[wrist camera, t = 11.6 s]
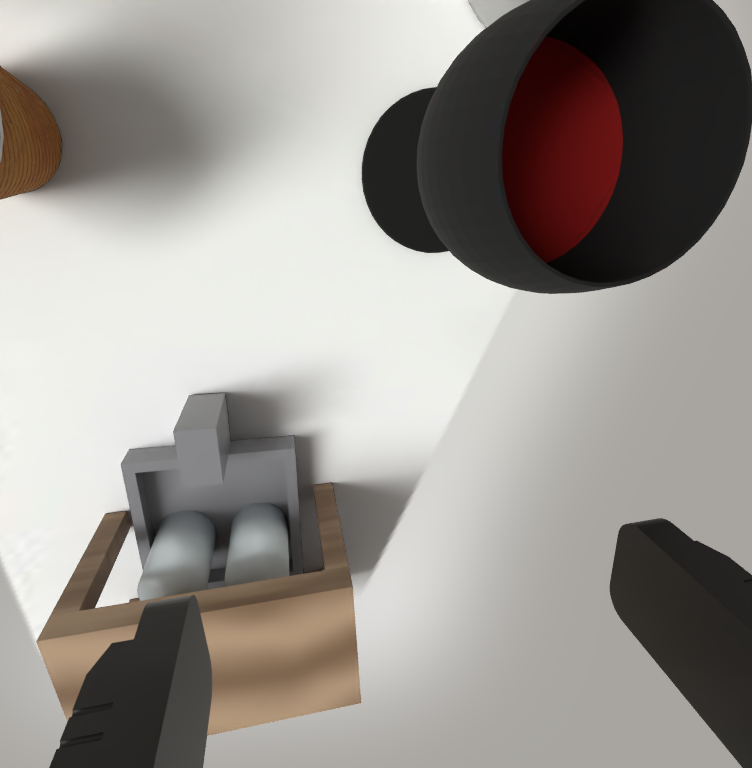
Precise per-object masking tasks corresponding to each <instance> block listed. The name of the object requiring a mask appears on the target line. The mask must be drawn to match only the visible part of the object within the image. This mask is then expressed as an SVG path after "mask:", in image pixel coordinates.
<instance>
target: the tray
mask: <svg viewBox="0 0 752 768" xmlns="http://www.w3.org/2000/svg"><path fill="white" fill-rule="evenodd" d="M173 433H174V439H175V445H174V446H162V447H150V448H139V449H129V451H128V452H127V454H126V456H125V458H124V459H123V461H122V463H121V468H122V473H123V478H124V483H125V487H126V492H127V497H128V502H129V506H130V511H131V516H132V521H133V526H134V530H135V535H136V540H137V545H138V549H139V554H140V559H141V564H142V568H143V573H142V576H141V578H140V581H139V584H138V596H139V599H140V601H142V600H148V599H154V598H160V597H166V596H172V595H178V594H184V593H190V592H196V591H203V590H209V589H215V588H221V587H227V586H233V585H239V584H245V583H251V582H257V581H263V580H269V579H275V578H281V577H287V576H293V575H299V574H303V560H302V545H301V530H300V515H299V500H298V485H297V471H296V456H295V442H294V435H292V436H280V437H268V438H256V439H245V440H233V441H231V440H230V431H229V423H228V414H227V406H226V397H225V393H216V394H201V395H189V397H188V399H187V401H186V404H185V406H184V408H183V410H182V413H181V415H180V417H179V419H178V422H177V424H176V426H175V429H174V431H173Z"/></svg>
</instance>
